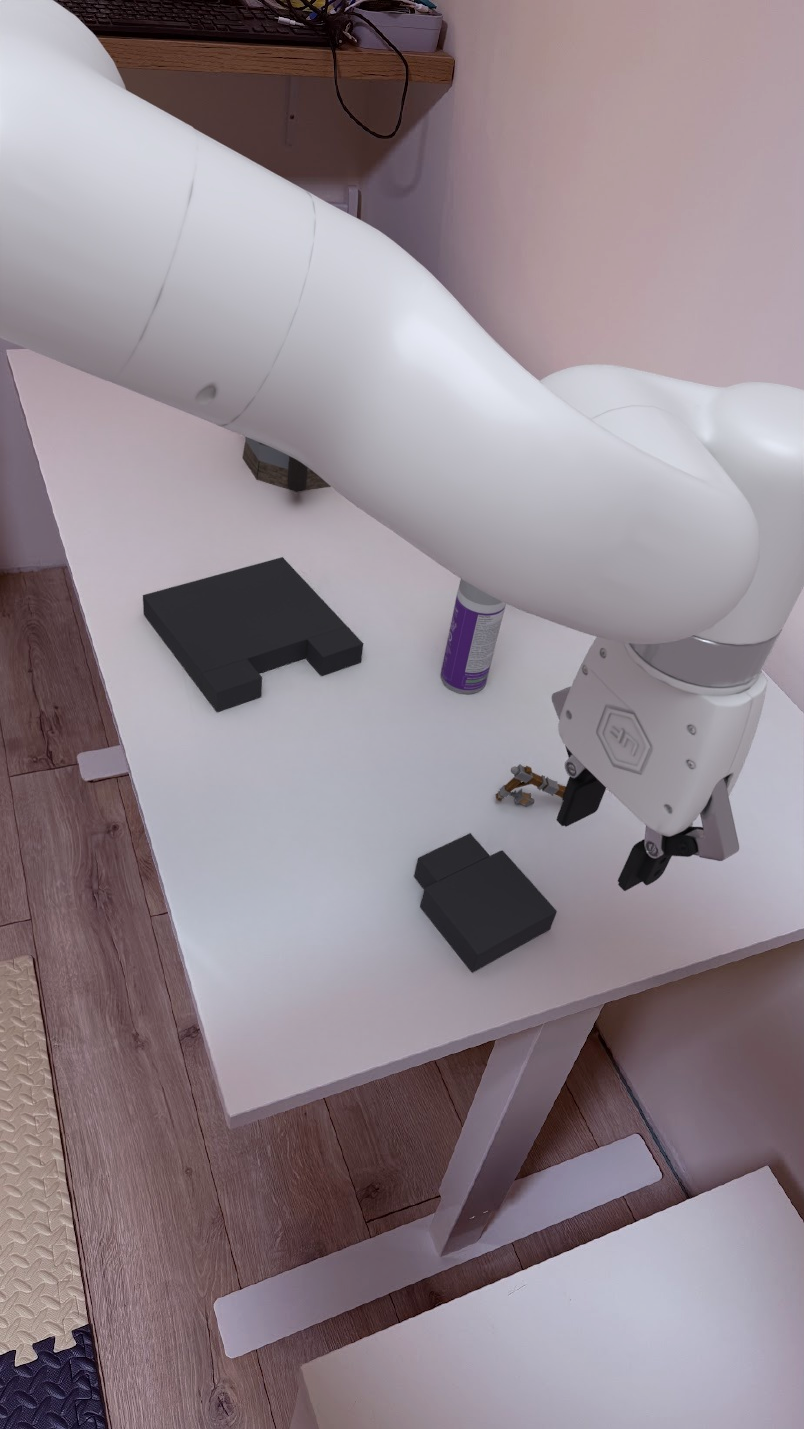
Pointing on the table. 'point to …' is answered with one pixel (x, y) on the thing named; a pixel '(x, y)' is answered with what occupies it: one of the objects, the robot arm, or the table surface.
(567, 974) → the table surface
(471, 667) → the container
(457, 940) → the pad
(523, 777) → the brown jointed two-tone fixture
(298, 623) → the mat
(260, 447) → the mug
